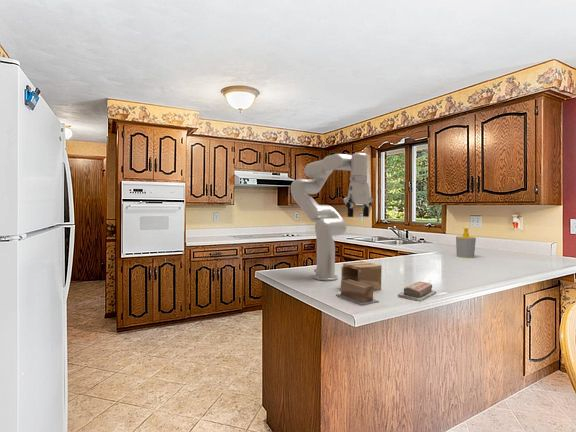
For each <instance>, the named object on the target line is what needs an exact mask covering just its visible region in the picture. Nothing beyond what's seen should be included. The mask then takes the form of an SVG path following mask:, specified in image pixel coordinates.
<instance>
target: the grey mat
mask: <svg viewBox="0 0 576 432" xmlns="http://www.w3.org/2000/svg"><path fill="white" fill-rule="evenodd" d="M335 296H337V297H339V298H341V299H344V300H346V301H349V302H352V303H354V304H357V305H360V306H367V305H370V304H371V305H372V304H375V303H379V302H380V301H379V300H376V299H374V298H373V301H370V302H365V303H363V302H360V301H358V300H355V299H352V298H349V297H347V296H344V295H341V293H337V294H336V295H335Z"/></svg>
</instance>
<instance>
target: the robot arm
mask: <svg viewBox="0 0 576 432" xmlns="http://www.w3.org/2000/svg"><path fill="white" fill-rule="evenodd" d="M303 170H304V175H305V176H306V177H308V178H298V179H294V180H293V181H292V182H291V184H290V193H291V197H292V198H293V200H294V201H295V203H296V204H297V205H298V206H299V207H300V208H301V209H302V211H303V212H304V214H305V215H306V216H307V218H308V219H309V221H311V222H313V223H315V224H314V230H315V231H314V232H315V237H316V238H315V239H316V268H314V269H313V272H314V273H315V274H314V275H313V279H314V280H317V281H325V282H326V281H330V282H331V281H337V280H338V277H339V276H338V275H336V274H335V270H336V268H335V267H336V266H335V265H336V243H335V241H334V240H335V239H334V238H333V237H336V236H342V235H344V234H345V232H346V231H347V224H346V221H345V219H344V218H343V217H342V216H341V215H340V213H339V212H338V211H337V210H336V209H335V208H334V207H333V206H331V205H329V204H319V203H317V201H316V200H315V199H314V198H313V196H311V195H315V194H316V195H317V194H318V193H319V192H320V191H321V190H322V188H323V186H324V185H325V183H326V181H327V180H328V178H329V177H330V175H332V173H333V171H350V177H349V181H350V182H349V186H348V193H347V196H346V197H344V198H343V202H344V205H345V206H346V209H347V217H348V218H353V217H354V208H353V207H354V206H355V205H362V206H363V208H362V212H363V213H362V216H363V217H369V216H370V215H369V213H370V209H371V206H372V203H373V201H374V199H373V198H372V197H371V196H370V195H371V193H370V186H369V183H368V154H367V153H364V152H363V153H362V152H356V153H352V154H344V153H335V154H334V153H333V154H331V155H326V156H325V157H324V158H323V159H320V160H316V161H313V162H309V163H308V164H306V165H305V167H304V169H303ZM309 178H310V179H309Z"/></svg>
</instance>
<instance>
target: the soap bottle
mask: <svg viewBox="0 0 576 432" xmlns="http://www.w3.org/2000/svg"><path fill="white" fill-rule="evenodd" d="M463 230H464V231H463V233H462V235H459V236H458V235H457V236H455V245H456V246H455V248H456V249H455V250H456V257H457V258H463V259H473V258H475V252H476V251H475V249H476V239H477V237H475V236H470V233H469V227H464V228H463Z"/></svg>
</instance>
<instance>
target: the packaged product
mask: <svg viewBox="0 0 576 432" xmlns="http://www.w3.org/2000/svg"><path fill="white" fill-rule="evenodd" d="M432 288H433V284H431V283H430V282H425V281H417V282H415V283H412V284H410V285H407V286H405V287H404V288H403V291H402V292H400V293H397V297H398V298H400V299H407V300H412V301H416V302H422V301H424V300H426V299H428V298H429V297H432V296H433V295H436V293H437V291H436V290H432Z"/></svg>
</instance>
